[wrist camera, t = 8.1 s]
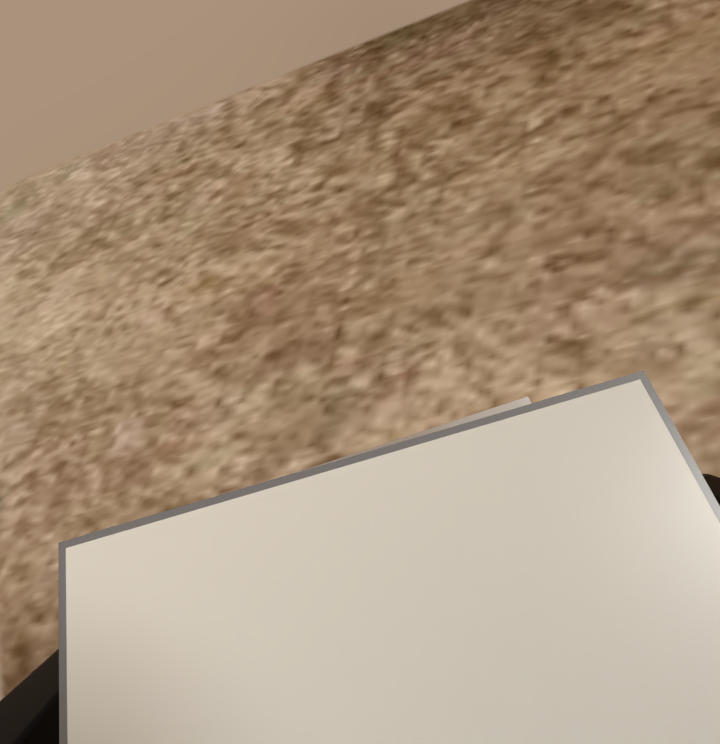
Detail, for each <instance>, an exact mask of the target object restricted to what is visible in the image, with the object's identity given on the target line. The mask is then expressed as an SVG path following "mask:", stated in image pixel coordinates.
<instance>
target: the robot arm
mask: <svg viewBox="0 0 720 744" xmlns="http://www.w3.org/2000/svg"><path fill="white" fill-rule="evenodd" d="M702 475H703V477H704V479H705V481H706V482H707V484H708V486H709V488H710V490H711V491H712V493H713V495H714V497H715V498H716V500H717V502H718V504H719V506H720V478H719V477H716V476H713V475H709V474H702ZM0 744H59V649H58V650H57V651H56V652H54V653H53V654H52V655H51V656H50V657H49V658H48V659H47V660H46V661H44V662H43V663H42V664H41V665H40V666H39V667H38V668H37V669H36V670H34V671H33V672H32V673H31V674H30V675H29V676H28V677H27V678H26V679H24V680H23V681H22V682H21V683H20V684H19V685H18V686H17V687H15V688H14V689H13V690H12V691H11V692H10V693H9V694H8V695H7V696H5V697H4V698H3V699H2V700H1V701H0Z"/></svg>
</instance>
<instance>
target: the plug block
mask: <svg viewBox="0 0 720 744" xmlns="http://www.w3.org/2000/svg"><path fill="white" fill-rule="evenodd" d="M59 744H720V506H719V504H718V502H717V500H716V498H715V497H714V495H713V493H712V491H711V490H710V488H709V486H708V484H707V482H706V481H705V479H704V477H703V475H702V474H701V472H700V470H699V468H698V466H697V465H696V463H695V461H694V459H693V458H692V456H691V454H690V452H689V450H688V449H687V447H686V445H685V443H684V441H683V440H682V438H681V436H680V434H679V433H678V431H677V429H676V427H675V425H674V424H673V422H672V420H671V418H670V417H669V415H668V413H667V411H666V409H665V408H664V406H663V404H662V402H661V401H660V399H659V397H658V395H657V393H656V392H655V390H654V388H653V386H652V385H651V383H650V381H649V379H648V377H647V376H646V374H645V372H644V371H641V372H637V373H634V374H630V375H627V376H624V377H620V378H617V379H613V380H610V381H607V382H603V383H600V384H596V385H593V386H590V387H586V388H583V389H579V390H576V391H573V392H569V393H566V394H562V395H559V396H556V397H552V398H549V399H545V400H542V401H539V402H535V403H532V404H528V405H525V406H522V407H518V408H515V409H511V410H508V411H505V412H501V413H498V414H494V415H491V416H488V417H484V418H481V419H477V420H474V421H471V422H467V423H464V424H460V425H457V426H454V427H450V428H447V429H443V430H440V431H437V432H433V433H430V434H426V435H423V436H420V437H416V438H413V439H409V440H406V441H403V442H399V443H396V444H392V445H389V446H386V447H382V448H379V449H375V450H372V451H369V452H365V453H362V454H358V455H355V456H352V457H348V458H345V459H341V460H338V461H335V462H331V463H328V464H324V465H321V466H318V467H314V468H311V469H307V470H304V471H301V472H297V473H294V474H290V475H287V476H284V477H280V478H277V479H273V480H270V481H267V482H263V483H260V484H256V485H253V486H250V487H246V488H243V489H239V490H236V491H233V492H229V493H226V494H222V495H219V496H216V497H212V498H209V499H205V500H202V501H199V502H195V503H192V504H188V505H185V506H182V507H178V508H175V509H171V510H168V511H165V512H161V513H158V514H154V515H151V516H148V517H144V518H141V519H137V520H134V521H131V522H127V523H124V524H120V525H117V526H114V527H110V528H107V529H103V530H100V531H97V532H93V533H90V534H86V535H83V536H80V537H76V538H73V539H69V540H66V541H63V542H59Z"/></svg>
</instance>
